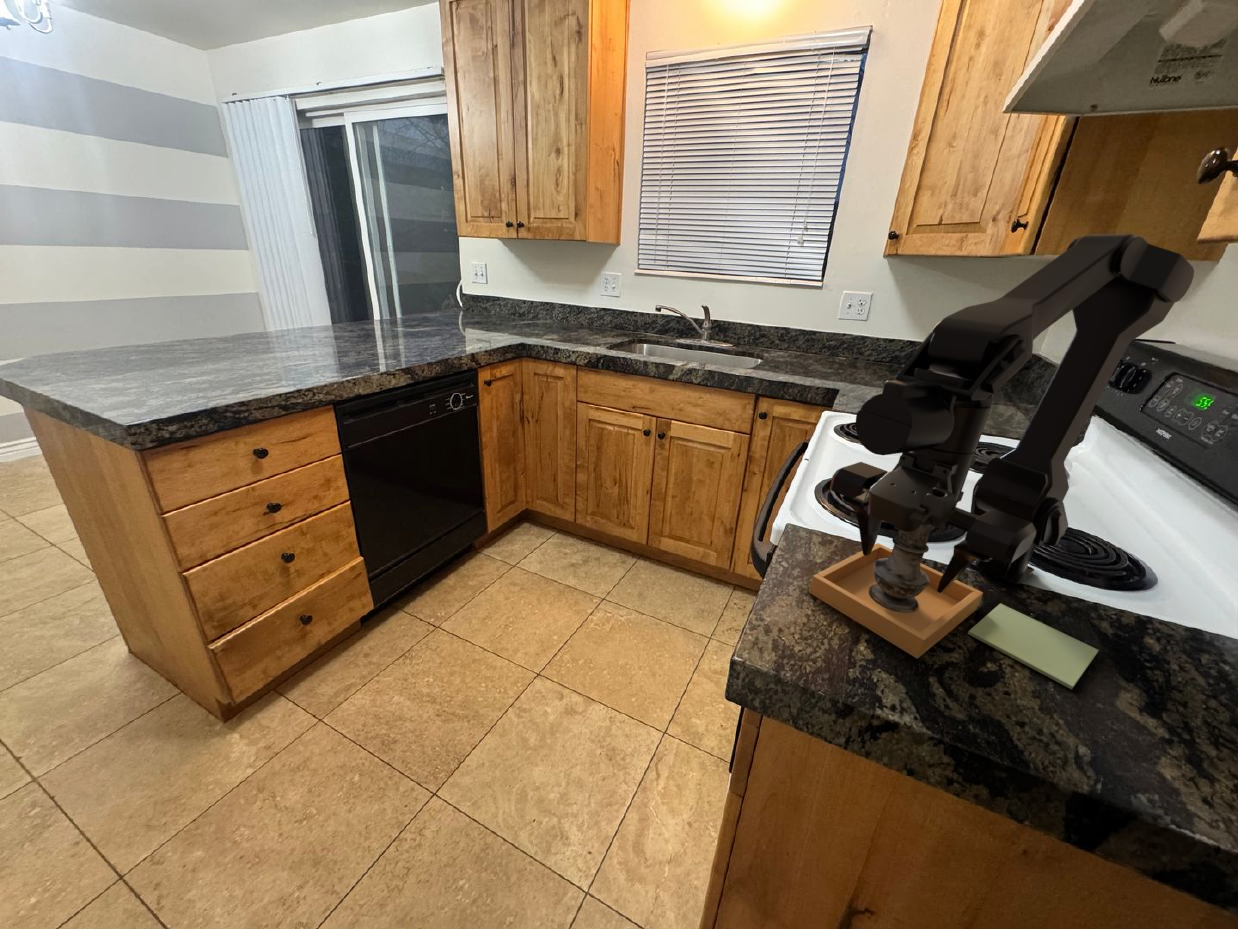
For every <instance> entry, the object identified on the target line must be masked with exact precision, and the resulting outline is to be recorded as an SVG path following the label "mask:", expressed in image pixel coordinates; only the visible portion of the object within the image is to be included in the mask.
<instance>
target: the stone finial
mask: <svg viewBox="0 0 1238 929" xmlns="http://www.w3.org/2000/svg"><path fill="white" fill-rule="evenodd" d="M932 529H933V526H932V525H930V524H927V525H926V526H924V525H922V524H921V525H920V526H919V528H918V529H917V530H915V531H912V532H905V531H902V530H899V529H898V533H897V535H895V536H893V537H892V539H891V541H892V543H893V547H892V553H891V555H890V557H889V558H884V559H879V560H876V561H875V562H874V564H873V568H874V575H875V580H876V583H877V584H874V585H872V586H871V587H869V591H868V592H869V595H870V596H871V598H872V599H873V600H874V601H875V602H877V603H878V604H880V605H881V606H883V607H885V608H887V609H890V610H893V611H897V612H902V613H910V612H914V611H916V610H917V609H918V605H919V604H918V602H917V600H916V599H915V597H916V596H918V595H919V594H920V593H921V592H922V591H923V590H924V589H925V588H926V587H928V586H929V585H930V579H929V577H928V575H927V574H926V573H925V572H924V571H922V570H921V569H920V564H922V560H923V557H924V555H925V554H927V553H928V552H929V551H930V550H929V549H930V548H929V545H927V544H928V541H929V538H930V534H931V532H932Z"/></svg>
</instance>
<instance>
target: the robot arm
mask: <svg viewBox="0 0 1238 929" xmlns="http://www.w3.org/2000/svg"><path fill="white" fill-rule="evenodd" d="M1194 276H1195V269H1194V266H1193V265H1192V264H1191V263H1190V262H1189V261H1188V259H1186V257H1185V256H1184V255H1182V254H1181V253H1179V252H1175V251H1172V250H1169V249H1167V248H1163V247H1160V246H1157V245H1154V244H1152V243H1149V242H1148V241H1147V240H1146V239H1145V238H1144V237H1143V236H1139V235H1138V236H1136V234H1134V233H1095V234H1094V233H1093V234H1091V233H1090V234H1089V233H1088V234H1086V235H1085V234H1084V235H1083V236H1079V237H1076V238H1074V239H1073V240H1072V241H1071V242H1070V244H1069V245H1068V246H1067V248H1066V250H1065V251H1064V252H1062V253H1061V254H1060V255H1058V256H1057V257H1056V258H1054V259H1053V260H1051V261H1050V262H1049V263H1047V264H1045V265H1044V266H1043V267H1042V268H1040V269H1038V270H1037V271H1036V272H1035V273H1033V274H1032V275H1031V276H1029V277H1028V278H1026V279H1025V280H1023V281H1022V282H1021V283H1019V284H1017V285H1016V286H1015V287H1013V288H1012V289H1011V290H1009V291H1008V292H1007V293H1005V294H1004V295H1003V296H1000V297H998V298H997V299H995V300H991V301H988V302H983V303H978V304H974V305H969V306H966V307H964V308H962V309H959V310H958V311H955V312H953V313H951V314H949V315H947V316H945V317H944V318H942V319H941V320H940V321H939V322H937V324H936V325H935V326H934V327H933V328H932V329H931V331H930V332H929V333H928V335H927V336H926V338H925V339H924V340H923V341H922V342H921V344H920V345H919V346H918V348H917V349H916V350H915V351H914V353H913V354H912V355H911V357H910V358H909V360H908V361H907V362H906V363H905V365H903V367H902V368H901V370H900V371H899V372H898V373H897V375H896V377H895V379H893V380H886V381H885V382H884V385H883V388H882V392H881V393H879V394H876V395H872V396H871V397H869V398H868V399H867V400H866V401H865V402H864V403H862V405H861V407H860V409H858V411H857V412H856V415H855V422H854V423H855V432H856V435H857V439H858V440H859V442H860V444H861V445H862V446H863V447H864V449H866V450H867V451H868V452H870V453H871V454H874V455H878V456H891V455H896V454H901V455H900V456H899V458H898V462H897V463H896V465H895V466H894V467H893V469H892V470H890V471H888V470H885V469H883V468H879V467H878V466H877V467H876V466H874V465H871V464H869V463H865V462H863V461H859V462H855V463H852V464H850V465H847V466H843V467H839V469H837V470H836V471H835V472H834V474H833V475H832V477H831V481H830V485H829V489H830V491H831V492H833V493H835V494H838V495H841V496H842V497H841V499H842V501H843V503H846V504H847V505H849V506H850V508H851V509H852V510H853V511H854V513H855V516H856V520H857V523H858V531H859V537H860V545H861V551H862V552H863V555H865V556H867V555H869V554H870V553H871V551H872V549H873V547H874V545H875V544H876V542H877V540H878V536H879V533H880V530H881V527H882V526H881V525H882V523H883V522H885V523H887V524H890V525H891V526H894V527H895V528H896V529H897V530H898V531H899V530H902V531H905V532H912V531H915V530H917V529H918V528H919V526H920V525H921V524H922V525H924V526H926V525H927V524H930V525H932V527H934V528H938V529H941V528H943V526H944V525H946V524H947V525H949V526H952V527H954V528H955V529H959V530H961V531H964V532H966V534H965V537H964V539H963V540H961V541H959V542H958V543H957V544H955V545H953V553H952V556H951V558H950V560H949V562H948V564H947V566H946V568H945V570H944V571H943V576H942V578H941V580H940V582H939V585H938V589H937V592H939V593H942V592H943V591H945V590H946V589H947V588H948V587H949V586H950V585H951V584H952V583H953V582H954V581H955V580H957V579H958V578H959V577H960V576H961V575H962V574H963V573H964V572H965V571H966V570H967V569H968V568H969V567H970V568H973V569H975V570H977V571H980V572H982V573H984V574H986V575H989V576H990V577H993V578H996V579H997V580H1000V581H1002V582H1004V583H1007V584H1009V585H1012V586H1015V587H1018V586H1019V585H1021V584H1022V583H1023V582H1024V581H1025V580H1027V579H1028V577H1030V576H1032V574H1033V573H1034V571H1035V568H1034V567H1032V566H1030V565H1029V563H1030V561H1031V559H1032V557H1033V554H1034V552H1035V549H1036V548H1037V546H1038V547H1042V546H1050V547H1058V545H1059V542H1060V540H1061V538H1062V537H1064V535H1065V533H1066V530H1067V529H1068V527H1069V521H1068V517H1067V516H1068V515H1067V513H1066V512H1067V511H1066V507H1065V504H1064V499H1065V498H1066V496H1067V493H1068V491H1069V490H1070V489H1069V488H1070V486H1069V481H1068V480H1069V479H1068V475H1067V470H1066V467H1065V466H1066V465H1065V461H1066V459H1067V457H1068V455H1069V454H1070V452H1071V450H1072V448H1073V446H1074V445H1075V443H1076V441H1077V439H1078V437H1079V436H1080V434H1081V432H1082V431H1083V428H1084V426H1085V425H1086V423H1087V421H1088V419H1089V417H1090V416H1091V414H1092V412H1093V410H1094V408H1095V406H1096V405H1097V403H1098V401H1099V399H1100V397H1101V396H1102V394H1103V392H1104V390H1105V389H1106V387H1107V385H1108V383H1109V381H1110V379H1111V378H1112V375H1113V374H1114V372H1115V370H1116V368H1117V366H1118V365H1119V363H1120V361H1121V359H1122V357H1123V356H1124V353H1126V352H1125V351H1126V350H1127V348H1128V347H1129V345H1130V343H1131V342H1133V341H1135V339H1137V338H1139V337H1140V336H1142V335H1144V334H1145V333H1147V332H1148V331H1150V330H1151V329H1153V328H1155V327H1157V325H1159V324H1162V322H1163V321H1165V319H1166V317H1167V316H1168V314H1169V312H1170V311H1171V309H1172V308H1173V306H1174V305H1175V303H1177V302H1179V301H1181V300H1182V299H1183V298H1184V296H1185V295H1186V294H1187V292H1188V291H1189V289H1190V287H1191V286H1192V284H1193V280H1194ZM1071 311H1072V315H1073V320H1074V323H1075V328H1076V329H1075V333H1074V335H1073V337H1072V339H1071V341H1070V343H1069V345H1068V347H1067V349H1066V351H1065V353H1064V355H1063V357H1062V358H1061V360H1060V362H1059V365H1058V366H1057V368H1056V371H1055V372H1054V374H1053V376H1052V378H1051V380H1050V381H1049V384H1048V385H1047V388H1046V390H1045V391H1044V394H1043V395H1042V397H1041V398H1040V401H1039V403H1038V404H1037V407H1036V408H1035V410H1034V412H1033V415H1032V417H1031V419H1030V421H1029V422H1028V424H1027V426H1026V428H1025V430H1024V432H1023V434H1022V435H1021V438H1020V440H1019V442H1018V443H1017V445H1016V447H1015V448H1014V449H1012V450H1010V451H1009V452H1008V453H1006V454H1004V455H1002V456H1000V457H999V456H994V457H992V458H991V459H990V460H989V461H988V462H987V464H986V466H985V468H984V471H983V473H982V475H981V476H980V477H979V478H978V480H977V481H976V483H975V484H974V487H973V489H972V496H971V505H970V511H967V510H965V509H962V508H960V507H957V505H958V503H959V502H961V501H962V499H963V496H964V495H965V492H964V491H962V490H963V489H964V485H965V483H966V480H967V477H968V474H969V471H970V468H971V467H973V466H974V465H975V463H976V460H977V455H975V454H976V451H977V448H978V445H979V442H980V440H981V437H982V434H983V432H984V429H985V426H986V423H987V421H988V417H989V414H990V411H991V409H992V406H993V404H1001V403H1002V402H1004V401H1005V395H1004V393H1003V391H1001V389H1000V388H1002V386H1004V384H1006V382H1008V381H1009V380H1010V379H1011V378H1012V377H1013V376H1014V375H1016V374H1017V373H1018V372H1019V371H1020V370H1021V369H1022V368H1023V367H1024V366H1025V365H1026V363H1027V362H1028V361H1030V359H1031V358H1032V357H1033V348H1034V341H1035V339H1037V338H1038V337H1039V336H1040V334H1042V333H1043V332H1044V331H1045V330H1047V329H1048V328H1050V327H1051V326H1052V325H1053V324H1055V323H1057V321H1059V320H1060V319H1061V318H1063V317H1064V316H1066V315H1067V314H1069V313H1070V312H1071Z"/></svg>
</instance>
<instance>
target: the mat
mask: <svg viewBox="0 0 1238 929" xmlns="http://www.w3.org/2000/svg"><path fill="white" fill-rule="evenodd" d="M967 635H969V636H971V637H973V638H975V639H976V640H978V641H980V642H981V643H984V644H986V645H988V646H989V647H991V648H993V649H995V650H997V651H998V652H1001V653H1002V654H1004V655H1006V656H1007V657H1010V658H1012V659H1014V660H1015V661H1018V663H1021V664H1023V665H1024V666H1027V667H1028V668H1030V669H1032V670H1034V671H1036V672H1037V673H1040V674H1042V675H1044V676H1045V677H1047V678H1049V679H1051V680H1053V681H1055V682H1057V683H1058V684H1060V685H1062V686H1064V687H1066V688H1067V689H1070V690H1073V688H1074V687H1075V685H1076V684H1077V683H1078V682H1079V680H1080V678H1082V676H1083V674H1085V671H1086V670H1087V668H1088V667H1089V666H1090V664H1091V663H1092V661H1093V660H1094V658H1095V657H1096V656H1097V654H1098V653H1099V649H1097V648H1095V647H1093V646H1091V645H1089V644H1087V643H1085V642H1083V641H1080V640H1079V639H1076V638H1075V637H1072V636H1070V635H1068V634H1066V633H1064V632H1062V631H1059V630H1058V629H1056V628H1053V627H1051V626H1049V625H1047V624H1045V623H1043V622H1040V621H1039V620H1036V619H1035V618H1032V617H1030V616H1028V615H1026V614H1024V613H1021V612H1020V611H1017V610H1016V609H1013V608H1011V607H1009V606H1008V605H1005V604H1003V603H999V604H998V605H997V606H995V607H994V608H993V609H992V610H991V611H990V612H988V614H986V615H985V616H984V617H983V618H982V619H980V620H979V621H978V622H977V623H976V624H975V625H974V626H973V627H971V628H970V629H969V630H968V631H967Z"/></svg>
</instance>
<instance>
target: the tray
mask: <svg viewBox="0 0 1238 929" xmlns="http://www.w3.org/2000/svg"><path fill="white" fill-rule="evenodd" d="M892 550H893V548H890V547H888V546H885V545H883V544H881V543H879V542H877V543H875V545H874V547H873V549H872V551H871V553H870V554H869V555H867V556H865V555H863V552H862V550H861V551H859V552H857V553H855V554H852V555H851V556H849V557H847V558H845V559H843V560H841V561H840V562H839V561H838V562H837V563H835V564H833V565H832V566H830V567H827V568H826V569H824V570H822V571H820V572H818V573H816V574H814V575H812V579H811V583H810V586H809V589H808V590H809V591H808V593H809V594H811V595H813V596H814V597H816V598H817V599H819V600H820V601H822V602H824V603H825V604H827V605H829V606H830V607H832V608H834V610H837V611H839V612H840V613H841V614H844V615H845V616H846V617H848V618H850V619H852V620H853V621H855V622H856V623H858V624H860V625H861V626H863V627H864V628H866V629H868V630H869V631H871V632H873V633H874V634H876V635H878V637H881V638H883V639H884V640H886V641H887V642H889V643H891V644H892V645H894V646H896V647H897V648H899V649H901V650H902V651H903V652H905V653H907V654H908V655H910V656H911V657H914V658H915V659H919V658H920V657H921V656H923V655H924V654H925V653H926V652H928V651H929V650H930V649H931V648H932V647H933V646H935V645H936V644H937V643H938V642H939V641H941V640H942V639H943V638H944V637H945V636H946V635H948V634H949V633H950V632H952V631H953V630H954V629H955V628H957V627H958V625H960V624H961V623H962V622H963V621H965V620H966V619H967V618H968V617H970V616H971V615H972V614H973V613H975V611H977V610H978V608H979V605H980V602H981V600H982V597H983V595H984V592H983V591H981V590H980V589H979V590H978V589H977V588H975V587H972V586H971V585H968V584H966V583H963V582H962V581H959V580H957V579H956V580H955V581H954V582H953V583H952V584H951V585H950V586H949V587H948V588H947V589H946V590H945V591H943V592H942V593H939V592H937V589H938V585H939V582H940V580H941V578H942V576H943V574H944V572H943V573H942V572H940V571H939V570H936V569H934V568H932V567H930V566H928V565H926V564H923V563H921V564H920V569H921V570H922V571H924V572H925V573H926V574H927V575H928V577H929V579H930V585H929V586H928V587H926V588H925V589H924V590H923V591H922V592H921V593H920V594H919V595H918V596H916V597H915V599H916V600H917V602H918V604H919V605H918V609H917V610H916V611H914V612H910V613H902V612H897V611H893V610H890V609H887V608H885V607H883V606H881V605H880V604H878V603H877V602H875V601H874V600H873V599H872V598H871V596H870V595H869V592H868V591H869V587H871V586H872V585H874V584H877V583H876V580H875V575H874V568H873V564H874V562H875V561H876V560H879V559H884V558H889V557H890V555H891V553H892Z"/></svg>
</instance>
